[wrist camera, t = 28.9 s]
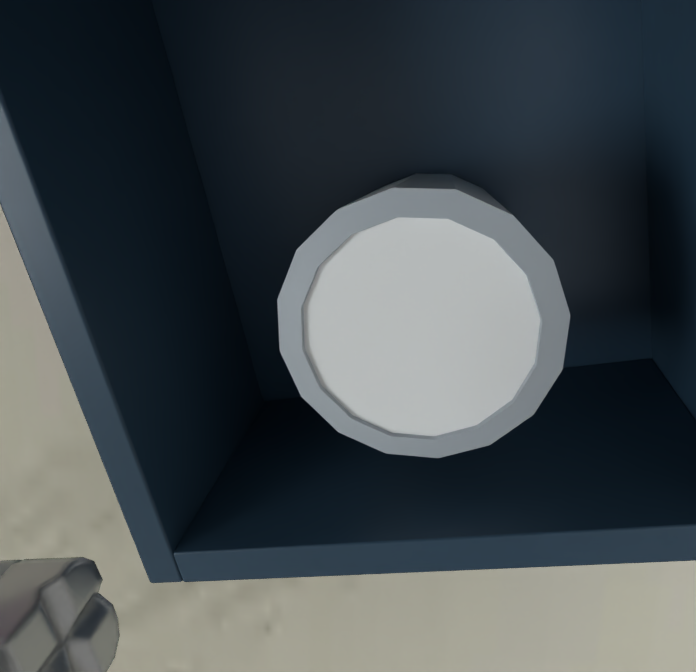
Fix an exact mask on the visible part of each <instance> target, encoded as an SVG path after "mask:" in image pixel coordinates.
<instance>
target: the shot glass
mask: <svg viewBox="0 0 696 672" xmlns="http://www.w3.org/2000/svg"><path fill="white" fill-rule="evenodd" d="M277 304H278V326H279V347H280V353H281V355H282V357H283V359H284V361H285V363H286V365H287V367H288V370H289V372H290V374H291V376H292V378H293V380H294V382H295V384H296V387H297V389H298V391H299V393H300V395H301V397H302V398H303V399H304V400H305V401H306V402H307V403H308V404H309V405H310V406H311V407H312V408H314V409H315V410H316V411H317V412H318V413H319V414H320V415H321V416H322V417H323V418H324V419H325V420H326V421H327V422H328V423H329V424H330V425H331V426H332V427H333V428H334V429H335V430H336V431H338V432H339V433H341V434H343V435H346V436H348V437H350V438H352V439H354V440H357V441H359V442H361V443H363V444H366V445H368V446H370V447H372V448H375V449H377V450H379V451H381V452H383V453H386V454H396V455H407V456H419V457H430V458H441V457H445V456H449V455H453V454H457V453H461V452H465V451H469V450H473V449H477V448H481V447H485V446H489V445H491V444H492V443H494V442H495V441H497V440H498V439H499V438H501V437H502V436H504V435H505V434H507V433H508V432H510V431H511V430H512V429H514V428H515V427H517V426H518V425H520V424H521V423H522V422H524V421H525V420H527V419H528V418H530V417H531V416H533V415H534V413H535V412H536V410H537V409H538V407H539V406H540V404H541V402H542V401H543V399H544V398H545V396H546V395H547V393H548V392H549V390H550V388H551V387H552V385H553V384H554V382H555V381H556V379H557V378H558V376H559V374H560V373H561V371H562V370H563V363H564V357H565V350H566V343H567V336H568V329H569V322H570V312H569V309H568V305H567V302H566V299H565V296H564V292H563V289H562V286H561V283H560V279H559V276H558V273H557V269H556V266H555V263H554V260H553V259H552V258H551V257H550V256H549V255H548V253H547V252H546V251H545V250H544V249H543V248H542V247H541V246H540V244H539V243H538V242H537V241H536V240H535V239H534V238H533V237H532V236H531V234H530V233H529V232H528V231H527V230H526V229H525V228H524V227H523V226H522V224H521V223H520V222H519V221H518V220H517V219H516V218H515V217H514V216H513V215H512V214H511V213H510V212H509V211H508V210H507V209H506V208H504V207H503V206H502V205H501V204H500V203H499V202H497V201H496V200H495V199H494V198H493V197H492V196H491V195H489V194H488V193H487V192H486V191H485V190H484V189H483V188H480V187H478V186H476V185H474V184H472V183H469V182H467V181H465V180H463V179H460V178H458V177H456V176H454V175H452V174H418V173H416V174H414V175H411V176H409V177H406V178H404V179H401V180H399V181H396V182H393V183H391V184H388V185H386V186H384V187H382V188H380V189H378V190H375V191H373V192H371V193H369V194H367V195H365V196H363V197H361V198H359V199H357V200H355V201H353V202H351V203H349V204H347V205H345V206H343V207H341V208H339V209H337V210H336V211H335V212H334V213H333V214H332V215H331V216H330V217H329V218H328V219H327V220H326V221H325V222H324V223H323V224H322V225H321V226H320V227H319V228H318V229H317V230H316V231H315V232H314V233H313V234H312V235H311V236H310V237H309V238H308V239H307V240H306V241H305V242H304V243H303V244H302V245H301V246H300V247H299V248H298V249H297V250H296V252H295V255H294V258H293V260H292V263H291V265H290V268H289V270H288V273H287V276H286V278H285V281H284V283H283V286H282V289H281V291H280V294H279V296H278V299H277Z"/></svg>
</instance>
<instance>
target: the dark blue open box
mask: <svg viewBox="0 0 696 672" xmlns="http://www.w3.org/2000/svg"><path fill="white" fill-rule="evenodd" d="M416 173H418V174H452V175H454V176H456V177H458V178H460V179H463V180H465V181H467V182H469V183H472V184H474V185H476V186H478V187H480V188H483V189H484V190H485V191H486V192H487V193H488V194H489V195H491V196H492V197H493V198H494V199H495V200H496V201H497V202H499V203H500V204H501V205H502V206H503V207H504V208H506V209H507V210H508V211H509V212H510V213H511V214H512V215H513V216H514V217H515V218H516V219H517V220H518V221H519V222H520V223H521V224H522V226H523V227H524V228H525V229H526V230H527V231H528V232H529V233H530V234H531V236H532V237H533V238H534V239H535V240H536V241H537V242H538V243H539V244H540V246H541V247H542V248H543V249H544V250H545V251H546V252H547V253H548V255H549V256H550V257H551V258H552V259H553V260H554V263H555V266H556V269H557V273H558V276H559V279H560V283H561V286H562V289H563V292H564V296H565V299H566V302H567V305H568V309H569V312H570V322H569V329H568V336H567V343H566V350H565V357H564V363H563V370H562V371H561V373H560V374H559V376H558V378H557V379H556V381H555V382H554V384H553V385H552V387H551V388H550V390H549V392H548V393H547V395H546V396H545V398H544V399H543V401H542V402H541V404H540V406H539V407H538V409H537V410H536V412H535V413H534V415H533V416H531V417H530V418H528V419H527V420H525V421H524V422H522V423H521V424H520V425H518V426H517V427H515V428H514V429H512V430H511V431H510V432H508V433H507V434H505V435H504V436H502V437H501V438H499V439H498V440H497V441H495V442H494V443H492V444H491V445H489V446H485V447H481V448H477V449H473V450H469V451H465V452H461V453H457V454H453V455H449V456H445V457H441V458H430V457H419V456H407V455H396V454H386V453H383V452H381V451H379V450H377V449H375V448H372V447H370V446H368V445H366V444H363V443H361V442H359V441H357V440H354V439H352V438H350V437H348V436H346V435H343V434H341V433H339V432H338V431H336V430H335V429H334V428H333V427H332V426H331V425H330V424H329V423H328V422H327V421H326V420H325V419H324V418H323V417H322V416H321V415H320V414H319V413H318V412H317V411H316V410H315V409H314V408H312V407H311V406H310V405H309V404H308V403H307V402H306V401H305V400H304V399H303V398H302V397H301V395H300V393H299V391H298V389H297V387H296V384H295V382H294V380H293V378H292V376H291V374H290V372H289V370H288V367H287V365H286V363H285V361H284V359H283V357H282V355H281V353H280V347H279V326H278V304H277V299H278V296H279V294H280V291H281V289H282V286H283V283H284V281H285V278H286V276H287V273H288V270H289V268H290V265H291V263H292V260H293V258H294V255H295V252H296V250H297V249H298V248H299V247H300V246H301V245H302V244H303V243H304V242H305V241H306V240H307V239H308V238H309V237H310V236H311V235H312V234H313V233H314V232H315V231H316V230H317V229H318V228H319V227H320V226H321V225H322V224H323V223H324V222H325V221H326V220H327V219H328V218H329V217H330V216H331V215H332V214H333V213H334V212H335V211H336V210H337V209H339V208H341V207H343V206H345V205H347V204H349V203H351V202H353V201H355V200H357V199H359V198H361V197H363V196H365V195H367V194H369V193H371V192H373V191H375V190H378V189H380V188H382V187H384V186H386V185H388V184H391V183H393V182H396V181H399V180H401V179H404V178H406V177H409V176H411V175H414V174H416ZM0 204H1V207H2V209H3V212H4V214H5V217H6V219H7V222H8V224H9V227H10V229H11V232H12V234H13V237H14V239H15V242H16V244H17V247H18V249H19V252H20V255H21V257H22V260H23V262H24V265H25V267H26V270H27V272H28V275H29V277H30V280H31V282H32V285H33V287H34V290H35V292H36V295H37V297H38V300H39V303H40V305H41V308H42V310H43V313H44V315H45V318H46V320H47V323H48V325H49V328H50V330H51V333H52V335H53V338H54V340H55V343H56V345H57V348H58V350H59V353H60V356H61V358H62V361H63V363H64V366H65V368H66V371H67V373H68V376H69V378H70V381H71V383H72V386H73V388H74V391H75V393H76V396H77V398H78V401H79V404H80V406H81V409H82V411H83V414H84V416H85V419H86V421H87V424H88V426H89V429H90V431H91V434H92V436H93V439H94V441H95V444H96V446H97V449H98V451H99V454H100V457H101V459H102V462H103V464H104V467H105V469H106V472H107V474H108V477H109V479H110V482H111V484H112V487H113V489H114V492H115V494H116V497H117V499H118V502H119V505H120V507H121V510H122V512H123V515H124V517H125V520H126V522H127V525H128V527H129V530H130V532H131V535H132V537H133V540H134V542H135V545H136V547H137V550H138V552H139V555H140V558H141V560H142V563H143V565H144V568H145V570H146V573H147V575H148V578H149V580H150V582H151V583H163V582H181V581H184V582H196V581H220V580H243V579H267V578H290V577H314V576H338V575H361V574H385V573H408V572H432V571H456V570H479V569H503V568H526V567H550V566H573V565H597V564H621V563H644V562H668V561H691V560H696V0H0Z"/></svg>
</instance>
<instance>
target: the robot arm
mask: <svg viewBox="0 0 696 672" xmlns="http://www.w3.org/2000/svg"><path fill="white" fill-rule="evenodd" d="M102 580H103V579H102V577H101V575H100V573H99V571H98V569H97V567H96V564H95V562H94V561H92V560H89V559H86V558H84V557H73V558H45V559H24V560H4V561H0V672H107V670H108V669H109V667H110V665H111V663H112V662H113V660H114V658H115V654H116V650H117V645H118V641H119V636H120V634H119V623H118V617H117V615H116V612H115V609H114V607H113V605H112V604H111V603H110V602H109V601H108V600H106V599H105V598H104V597H103V596H102V595H101V594H99V593H98V592H99V589H100V586H101V583H102Z"/></svg>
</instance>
